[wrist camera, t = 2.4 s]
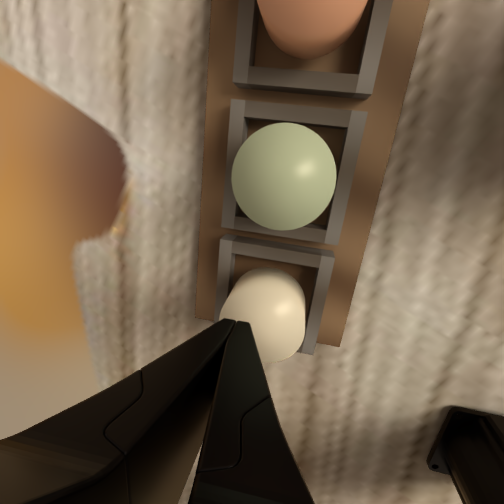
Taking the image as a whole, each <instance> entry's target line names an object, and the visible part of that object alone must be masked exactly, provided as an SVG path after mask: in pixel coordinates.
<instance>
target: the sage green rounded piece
mask: <svg viewBox="0 0 504 504" xmlns="http://www.w3.org/2000/svg"><path fill="white" fill-rule="evenodd" d="M231 181H232V188H233V193H234V196H235V198H236V201H237V203H238V205H239V206H240V208H241V209H242V211H243V212H244V213H245V214H246V215H247V216H248V217H249V218H250V219H251V220H253V221H254V222H255V223H257V224H259V225H261V226H263V227H266V228H268V229H273V230H281V231H283V230H293V229H297V228H300V227H303V226H305V225H307V224H309V223H310V222H312V221H313V220H315V219H316V218H317V217H318V216H319V215H320V214H321V213H322V212H323V211H324V210H325V208H326V207H327V206H328V204H329V202H330V200H331V198H332V196H333V193H334V189H335V185H336V165H335V161H334V158H333V155H332V153H331V151H330V149H329V147H328V146H327V144H326V143H325V142H324V140H323V139H322V138H321V137H320V136H319V135H318V134H316V133H315V132H314V131H312V130H311V129H309V128H307V127H305V126H302V125H299V124H294V123H275V124H272V125H268V126H266V127H263V128H261V129H259V130H258V131H256V132H255V133H253V134H252V135H251V136H250V137H249V138H248V139H247V140H246V141H245V142H244V143H243V145H242V146H241V147H240V149H239V151H238V152H237V155H236V157H235V159H234V163H233V167H232V177H231Z"/></svg>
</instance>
